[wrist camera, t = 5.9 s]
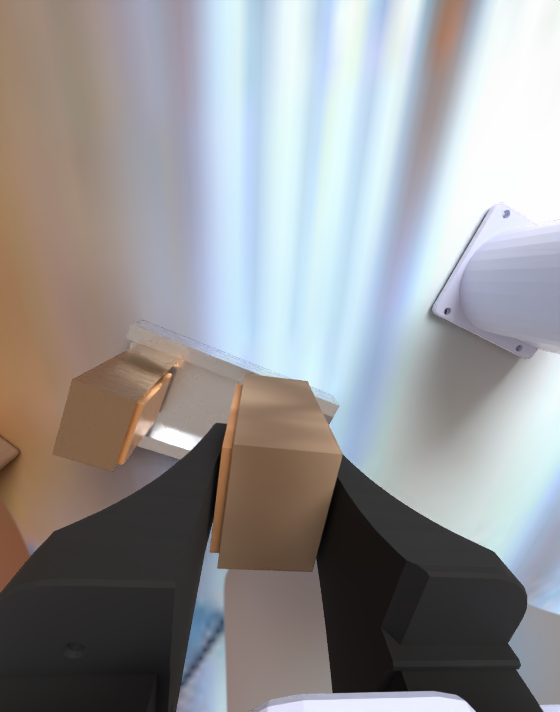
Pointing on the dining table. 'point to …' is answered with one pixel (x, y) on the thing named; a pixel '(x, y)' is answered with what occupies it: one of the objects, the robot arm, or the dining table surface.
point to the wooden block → (7, 452)
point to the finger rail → (154, 398)
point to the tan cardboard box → (274, 477)
